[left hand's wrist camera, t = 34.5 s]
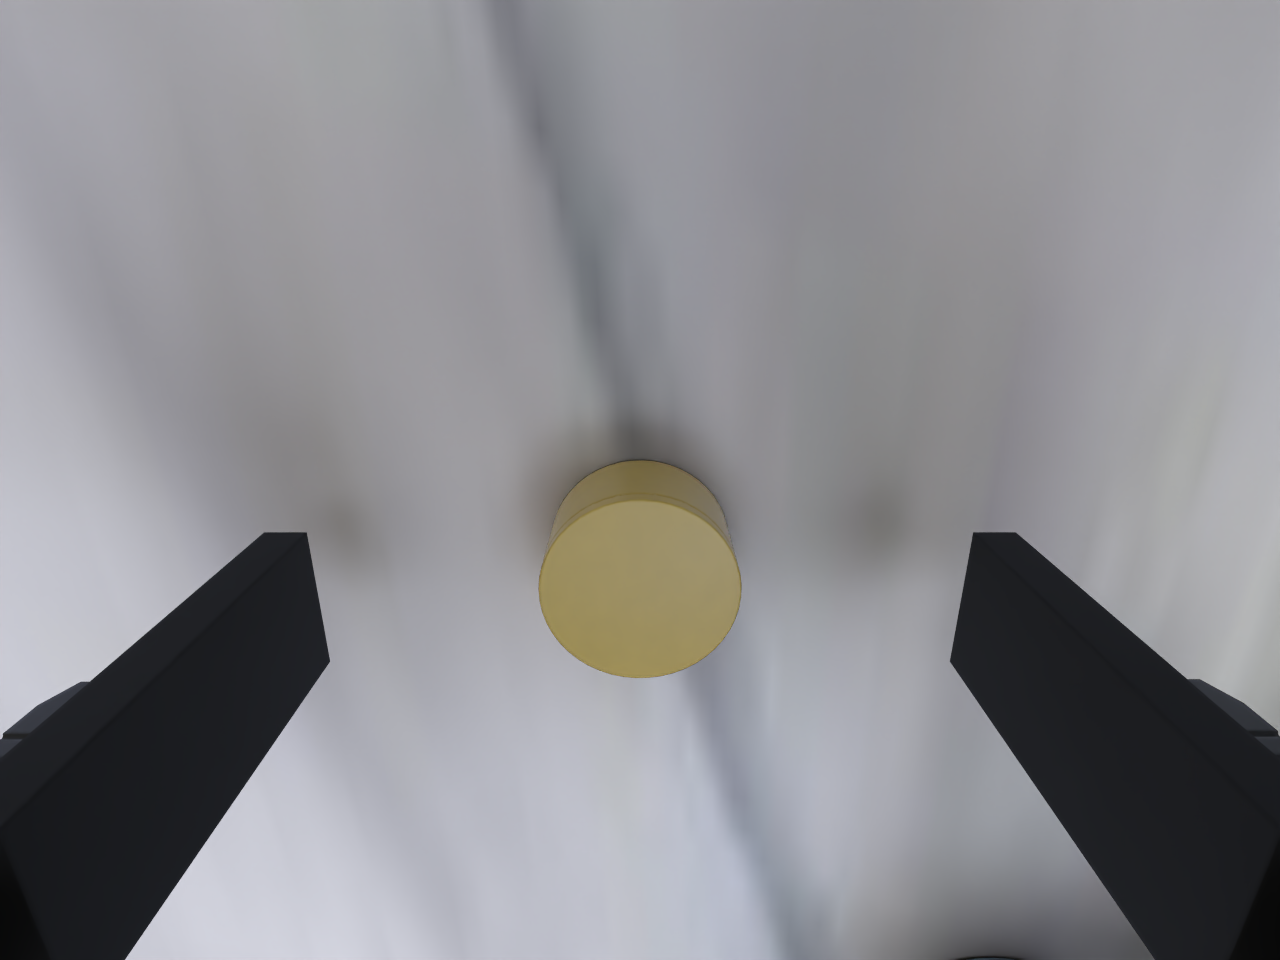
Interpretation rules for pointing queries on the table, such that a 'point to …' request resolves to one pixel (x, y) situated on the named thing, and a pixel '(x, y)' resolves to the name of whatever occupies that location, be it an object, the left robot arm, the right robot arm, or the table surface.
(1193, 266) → the table surface
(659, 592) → the cap
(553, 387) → the table surface
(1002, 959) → the bottle
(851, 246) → the table surface
